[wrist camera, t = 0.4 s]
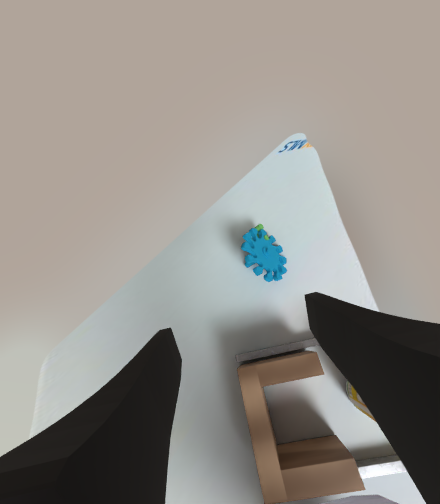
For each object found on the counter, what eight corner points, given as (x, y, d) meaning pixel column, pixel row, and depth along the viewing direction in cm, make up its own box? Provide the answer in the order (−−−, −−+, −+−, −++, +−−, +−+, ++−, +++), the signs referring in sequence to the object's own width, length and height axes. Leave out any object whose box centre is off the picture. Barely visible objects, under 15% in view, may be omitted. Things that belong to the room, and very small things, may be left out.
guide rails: (430, 460, 26) (439, 466, 25) (263, 486, 28) (263, 493, 27) (367, 326, 33) (372, 325, 32) (236, 354, 35) (235, 355, 34)
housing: (343, 458, 28) (365, 489, 22) (264, 471, 29) (264, 505, 23) (307, 350, 33) (316, 352, 27) (241, 364, 34) (237, 368, 28)
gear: (294, 285, 36) (249, 270, 31) (268, 295, 40) (225, 283, 35) (283, 232, 42) (244, 213, 37) (262, 246, 46) (224, 230, 41)
